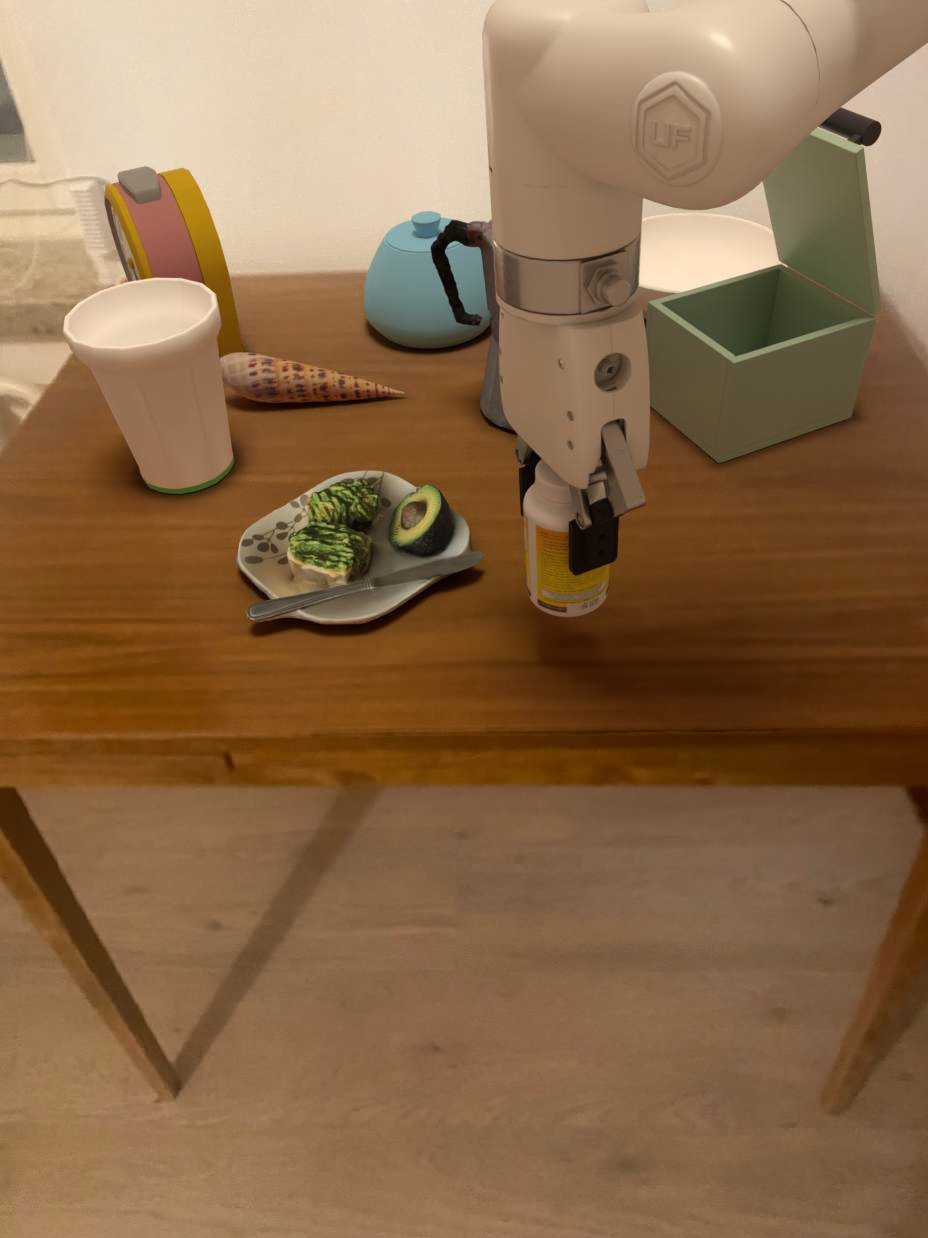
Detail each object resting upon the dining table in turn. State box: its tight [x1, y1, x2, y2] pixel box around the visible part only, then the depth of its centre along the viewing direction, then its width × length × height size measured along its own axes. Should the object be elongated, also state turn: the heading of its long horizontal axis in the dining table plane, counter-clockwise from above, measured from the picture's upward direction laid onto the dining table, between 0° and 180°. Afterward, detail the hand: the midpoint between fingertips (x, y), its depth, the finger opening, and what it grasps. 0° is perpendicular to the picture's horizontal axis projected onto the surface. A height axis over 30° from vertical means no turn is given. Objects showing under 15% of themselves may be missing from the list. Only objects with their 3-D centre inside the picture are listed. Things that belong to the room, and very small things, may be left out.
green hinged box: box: [645, 264, 877, 464], centre depth 87 cm, size 15×13×10 cm
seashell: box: [220, 351, 407, 404], centre depth 94 cm, size 4×18×5 cm, turn 85°
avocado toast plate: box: [235, 469, 486, 625], centre depth 76 cm, size 19×18×5 cm
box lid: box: [762, 107, 883, 316], centre depth 80 cm, size 15×13×5 cm
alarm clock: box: [103, 165, 245, 358], centre depth 99 cm, size 15×8×18 cm, turn 27°
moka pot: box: [430, 218, 514, 432], centre depth 86 cm, size 10×15×20 cm, turn 89°
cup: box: [62, 278, 235, 495], centre depth 83 cm, size 12×12×15 cm
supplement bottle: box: [523, 459, 611, 618], centre depth 62 cm, size 6×6×10 cm
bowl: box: [635, 212, 790, 321], centre depth 102 cm, size 20×20×7 cm
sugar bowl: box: [363, 210, 491, 350], centre depth 103 cm, size 15×15×12 cm
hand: (567, 536), depth 62 cm, fingers closed on supplement bottle, 5 cm apart
